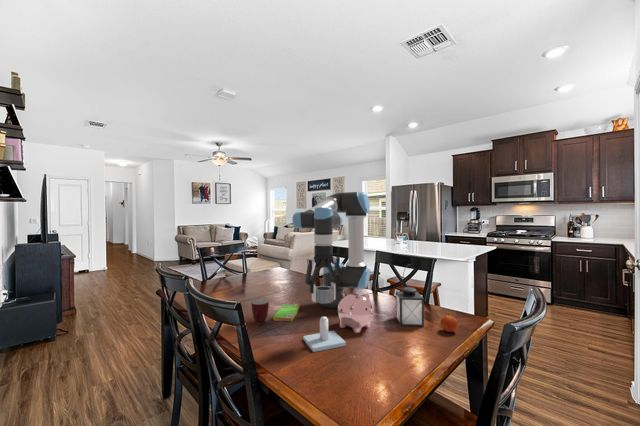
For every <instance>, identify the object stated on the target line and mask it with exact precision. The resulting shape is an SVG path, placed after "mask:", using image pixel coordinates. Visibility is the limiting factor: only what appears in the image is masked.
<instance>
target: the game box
mask: <svg viewBox="0 0 640 426" xmlns="http://www.w3.org/2000/svg"><path fill="white" fill-rule="evenodd" d="M299 311H300V304H295V303H294V304H293V303H292V304H291V303H283V304H281V306H280V307H279V309H278V310H277V311H276V313H275V314H274V315H273V316H272V317H273V318H272V319H273V321H276V322H277V321H278V322H293V321H294V319H295V318H296V316H297V314H298V312H299Z"/></svg>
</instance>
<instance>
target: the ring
mask: <svg viewBox="0 0 640 426" xmlns="http://www.w3.org/2000/svg"><path fill="white" fill-rule="evenodd" d="M333 300H334V288H333V287H330V286H323V285H319V286H316V302H315V303H318V304H321V303H323V304H326V303H331V302H333Z"/></svg>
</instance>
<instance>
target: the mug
mask: <svg viewBox="0 0 640 426" xmlns="http://www.w3.org/2000/svg"><path fill="white" fill-rule="evenodd" d="M251 312H252V317H253V319H254V321H255V323H256V324H257V325H259V324H260V325H261V324H264V323H265V322H266V320H267V317H268V312H269V300H267V299H256V300H253V301H251Z"/></svg>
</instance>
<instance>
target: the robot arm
mask: <svg viewBox="0 0 640 426" xmlns="http://www.w3.org/2000/svg"><path fill="white" fill-rule="evenodd" d="M369 200H370V199H369V196H368V194H367V193H366V192H363V191H350V192H347V191H346V192H337V193H333V194H330V195H328V196H326V197H325V198H323V199H322V201H321V202H320V203H317V204H316V205H314V206H311V208H309V209H307V210H305V211H297V212H295V213H293V216H292V226H293V227H294V228H295V229H301V230H302V229H314V235H313V236H314V239H313V240H314V249H313V250H314V255H313V258H311V259H309V258H308V259H307V260H306V262H307V263H306V264H307V268H306V274H305V280H304V283H305V284H306V285H308V286H309V293H310V294H311V301H312V303H316V287H317V286H316V284H315V283H316V280H317V278H318V275H319V272H320V271H321V269H323V271H322V272H323V273H322V275H323V276H322V281H323V285H322V286H330V287H333V288H334V300H333V302H331V303H326V304H323V303H320V305H321V306H322V307H324V308H329V309H338V305H339V302H340V301H341V299H342V298H343V294H342V293H344V295H345V291H344V288H348V289H357V290H359V289H360V290H364V289H366V288H367V287H368V285H369V282H370V276H371V270H370V269H371V268H369V267H367V266H368V265H367V263H366V262H365V251H364V250H365V246H364V245H365V241H364V240H365V235H364V233H365V232H364V231H365V230H364V229H365V228H364V227H365V224H364V220H365V218H366V217H367V214H369V213H370V209H371V208H370V201H369ZM340 213H341V214H343V213H344V214H345V217H346V219H348V221H347V222H348V224H347V227H348V229H347V230H348V241H347V242H348V261H347V262H346V263H345V265H344V263H341V261H340V258H339V257H337V256H336V257H334V256H333V253H334V252H333V248H334V246H333V243H334V242H333V240H334V239H333V235H334V234H333V233H334V232H333V231H334V230H336V229H338V228H340V227H341V226H342V223H343V217H342V215H341V214H340ZM332 262H333V263H332ZM314 263H315V266H314V269H313V265H314ZM312 270H313V271H312ZM312 272H313V273H312Z"/></svg>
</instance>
